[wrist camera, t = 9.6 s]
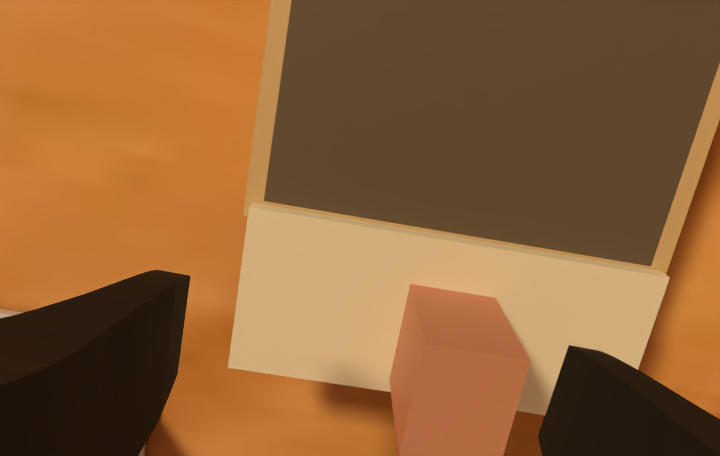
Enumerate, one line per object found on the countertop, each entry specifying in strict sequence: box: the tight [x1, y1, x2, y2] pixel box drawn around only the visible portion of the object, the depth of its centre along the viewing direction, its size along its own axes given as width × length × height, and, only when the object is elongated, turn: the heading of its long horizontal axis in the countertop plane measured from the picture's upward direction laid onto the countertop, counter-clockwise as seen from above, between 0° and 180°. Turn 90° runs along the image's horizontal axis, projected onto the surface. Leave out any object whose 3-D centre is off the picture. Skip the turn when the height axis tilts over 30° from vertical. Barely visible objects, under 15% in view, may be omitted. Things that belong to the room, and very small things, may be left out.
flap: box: [228, 202, 670, 456], centre depth 16 cm, size 5×12×4 cm, turn 80°
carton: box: [243, 0, 720, 274], centre depth 18 cm, size 10×12×4 cm
